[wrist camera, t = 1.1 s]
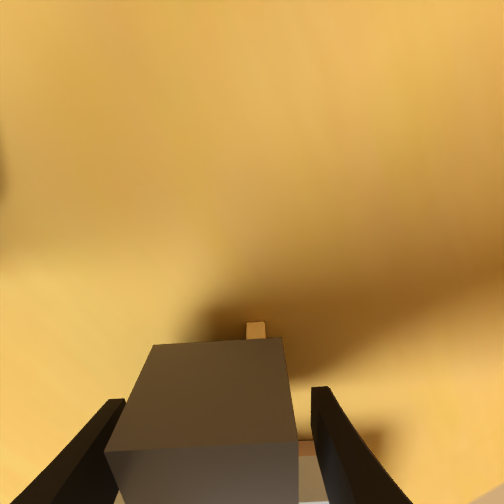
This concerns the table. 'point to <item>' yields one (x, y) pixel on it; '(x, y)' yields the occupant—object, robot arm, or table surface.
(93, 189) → the table surface
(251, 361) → the plug
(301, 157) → the table surface
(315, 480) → the socket
